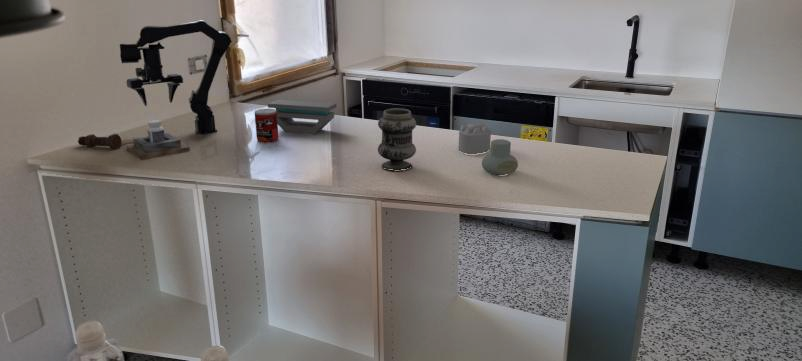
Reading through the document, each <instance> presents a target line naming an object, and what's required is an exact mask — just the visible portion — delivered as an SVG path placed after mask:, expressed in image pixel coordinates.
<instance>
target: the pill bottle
mask: <svg viewBox="0 0 802 361" xmlns="http://www.w3.org/2000/svg"><path fill="white" fill-rule="evenodd" d="M147 123H148V124H147V125H148V128H147V135H148V138H149V143H154V142H160V141H165V129H164V127H163V126H162V121H161V120H160V119H159V120H158V119H153V120H149V121H148V122H147Z"/></svg>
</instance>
